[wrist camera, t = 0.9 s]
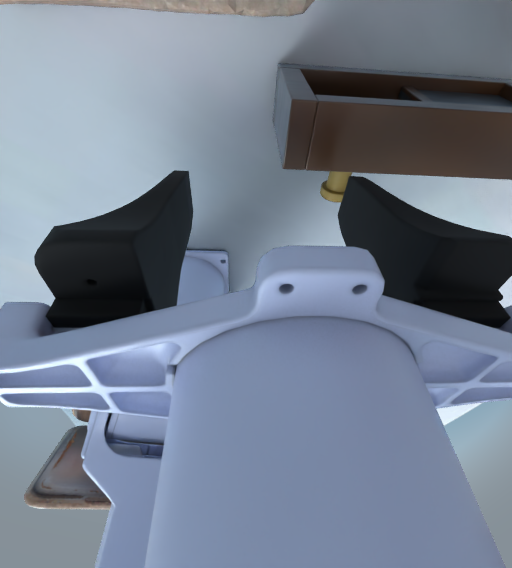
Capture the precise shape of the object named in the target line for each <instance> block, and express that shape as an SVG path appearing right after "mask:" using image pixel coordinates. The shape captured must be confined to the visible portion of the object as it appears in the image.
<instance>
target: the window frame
mask: <svg viewBox="0 0 512 568" xmlns="http://www.w3.org/2000/svg"><path fill="white" fill-rule="evenodd" d="M273 124H274V128H275V133H276V138H277V143H278V148H279V153H280V158H281V163H282V168H283V169H296V170H313V171H335V172H357V173H378V174H400V175H422V176H444V177H466V178H488V179H510V180H512V80H509V79H495V78H481V77H466V76H452V75H438V74H424V73H409V72H395V71H381V70H367V69H353V68H338V67H324V66H310V65H296V64H281V63H279V64H278V71H277V81H276V91H275V102H274V112H273Z"/></svg>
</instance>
